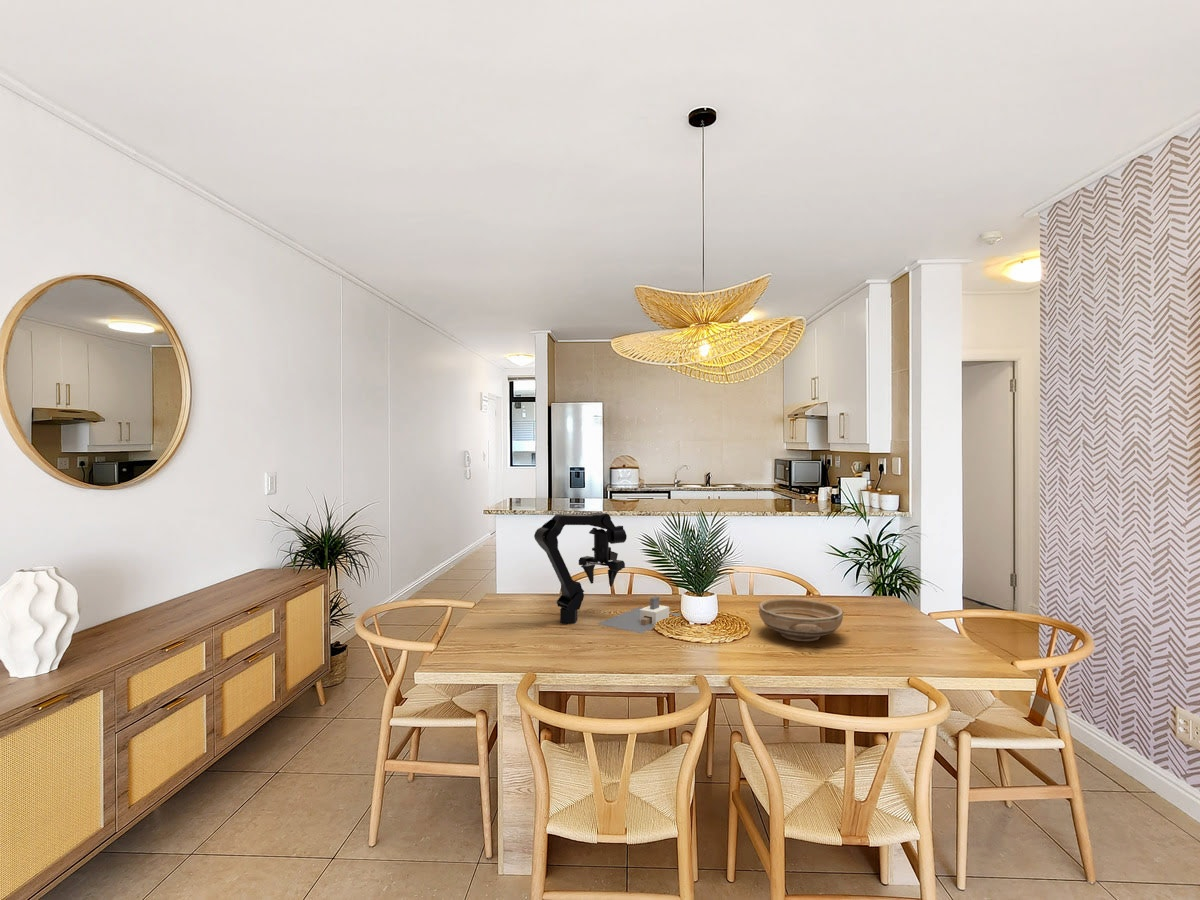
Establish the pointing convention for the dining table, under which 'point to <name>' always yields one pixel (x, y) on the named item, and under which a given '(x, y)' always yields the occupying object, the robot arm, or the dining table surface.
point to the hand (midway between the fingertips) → (601, 584)
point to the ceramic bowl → (800, 617)
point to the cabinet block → (655, 611)
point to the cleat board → (631, 621)
